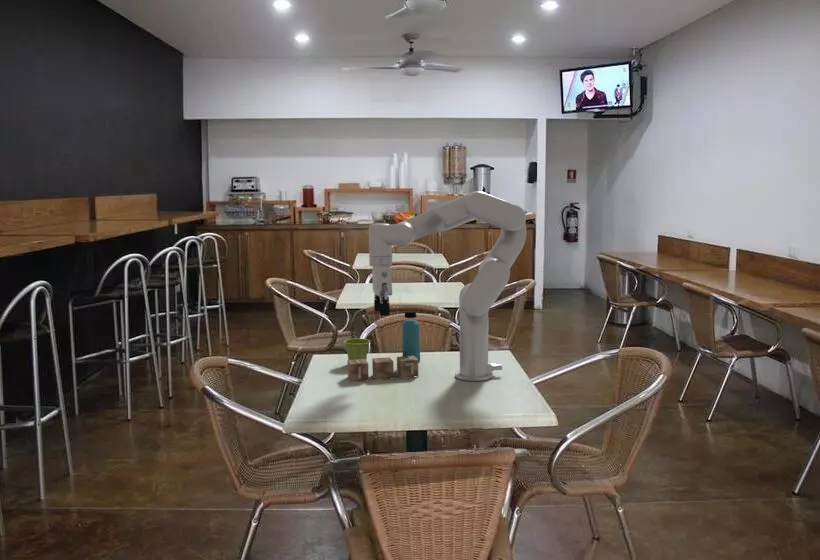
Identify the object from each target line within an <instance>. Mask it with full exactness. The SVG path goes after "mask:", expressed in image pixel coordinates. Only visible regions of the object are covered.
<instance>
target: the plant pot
mask: <svg viewBox="0 0 820 560" xmlns="http://www.w3.org/2000/svg"><path fill="white" fill-rule="evenodd" d="M343 343H344V344H345V348H346V353H347V360H357V359H365V360H366V361H367V357H368V349H369V345H370V343H371V339H367V338H348V339H345V340H344V341H343Z"/></svg>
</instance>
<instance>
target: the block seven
mask: <svg viewBox="0 0 820 560" xmlns="http://www.w3.org/2000/svg"><path fill="white" fill-rule="evenodd" d="M396 374H397V375H398V377H401V378H400V379H405V378H404V377H410V378H415V377H414V376H418V377H419V363H418V359H417V358H416V357H415V356H403V355H401V356H397V357H396Z"/></svg>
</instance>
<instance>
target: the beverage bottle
mask: <svg viewBox="0 0 820 560" xmlns="http://www.w3.org/2000/svg"><path fill="white" fill-rule="evenodd" d="M404 318H406V320H404V321H403V322H402V323H401V328H402V330H401V331H402V332H401V334H402V335H401V341H402V349H401V350H402V356H415V357H416V358H417V359H418V364H420V362H421V344H420V343H421V341H420V325H421V324H420V322H419V321H418V320H416V319H415V318H417V311H415V310H406V311H405V312H404Z"/></svg>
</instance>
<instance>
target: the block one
mask: <svg viewBox="0 0 820 560" xmlns="http://www.w3.org/2000/svg"><path fill="white" fill-rule="evenodd" d="M369 374H370V373H369V362H368V361H367V359H366V360H365V359H357V360H348V359H347V378H348V380H349V381H350V383H355V382H366V380H369V378H370V377H369ZM369 381H370V380H369Z"/></svg>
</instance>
